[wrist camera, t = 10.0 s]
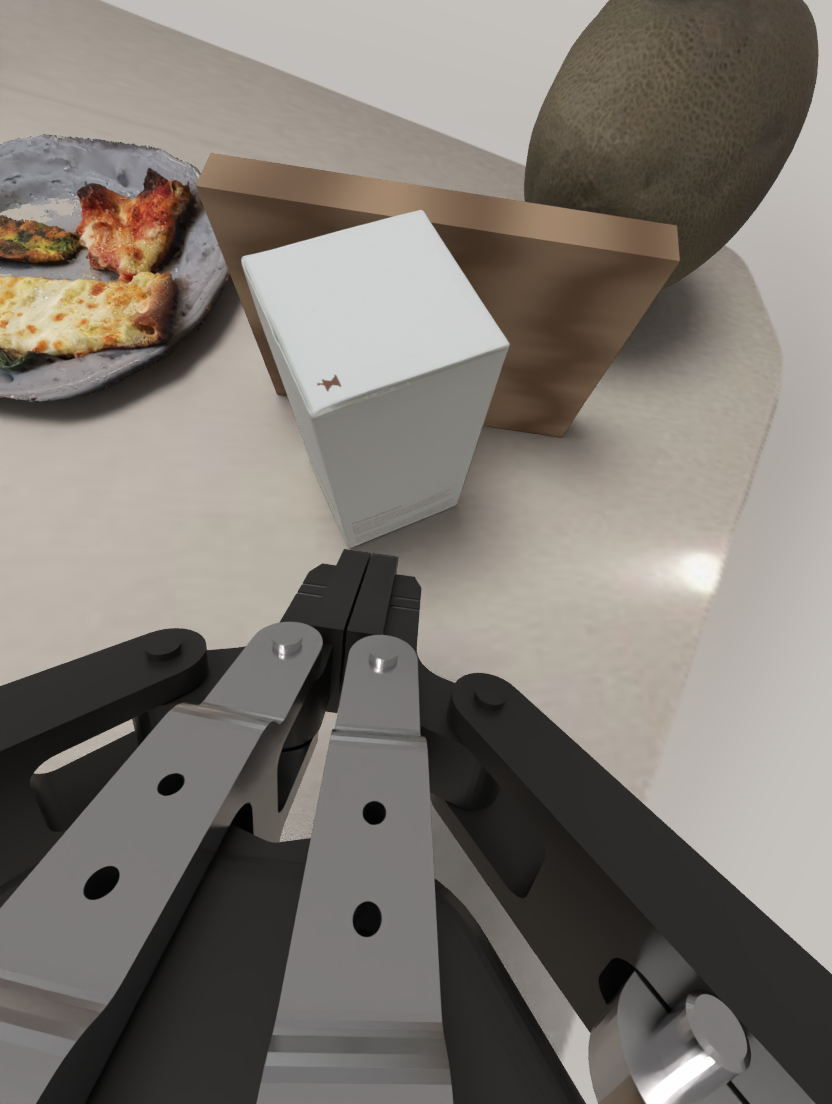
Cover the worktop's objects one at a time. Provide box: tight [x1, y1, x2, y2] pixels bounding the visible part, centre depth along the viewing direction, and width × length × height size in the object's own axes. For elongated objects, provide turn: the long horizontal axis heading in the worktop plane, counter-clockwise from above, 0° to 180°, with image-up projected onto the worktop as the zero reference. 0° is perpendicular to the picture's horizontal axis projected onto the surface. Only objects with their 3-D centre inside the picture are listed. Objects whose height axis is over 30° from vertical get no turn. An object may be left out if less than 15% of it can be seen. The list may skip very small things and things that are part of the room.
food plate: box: [0, 134, 230, 402], centre depth 28 cm, size 25×23×4 cm
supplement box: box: [241, 210, 509, 548], centre depth 20 cm, size 7×7×13 cm
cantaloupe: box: [524, 0, 818, 290], centre depth 25 cm, size 14×14×15 cm
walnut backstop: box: [196, 153, 680, 437], centre depth 22 cm, size 19×2×12 cm, turn 82°
